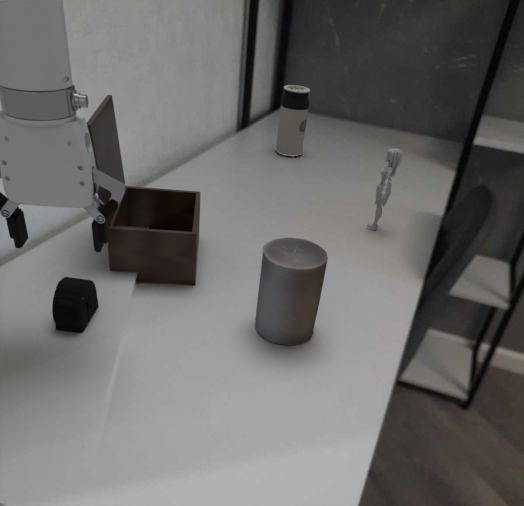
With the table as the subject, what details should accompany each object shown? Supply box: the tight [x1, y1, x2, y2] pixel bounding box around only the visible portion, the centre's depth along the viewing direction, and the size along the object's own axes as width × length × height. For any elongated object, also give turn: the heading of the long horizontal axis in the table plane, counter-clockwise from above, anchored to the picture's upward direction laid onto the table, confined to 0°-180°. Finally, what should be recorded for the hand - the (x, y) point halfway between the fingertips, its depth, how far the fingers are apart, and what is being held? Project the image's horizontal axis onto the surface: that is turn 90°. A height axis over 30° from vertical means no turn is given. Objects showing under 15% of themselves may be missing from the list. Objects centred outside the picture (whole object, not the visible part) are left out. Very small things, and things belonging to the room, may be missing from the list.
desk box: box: [107, 185, 201, 286], centre depth 95 cm, size 15×19×10 cm
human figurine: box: [366, 147, 403, 231], centre depth 114 cm, size 12×4×18 cm, turn 163°
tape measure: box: [51, 276, 100, 334], centre depth 74 cm, size 15×4×8 cm, turn 175°
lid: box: [86, 94, 126, 225], centre depth 86 cm, size 15×19×1 cm
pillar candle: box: [254, 237, 329, 346], centre depth 80 cm, size 10×10×15 cm
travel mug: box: [275, 84, 311, 155], centre depth 151 cm, size 8×8×18 cm
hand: (61, 245), depth 67 cm, fingers open, 9 cm apart
